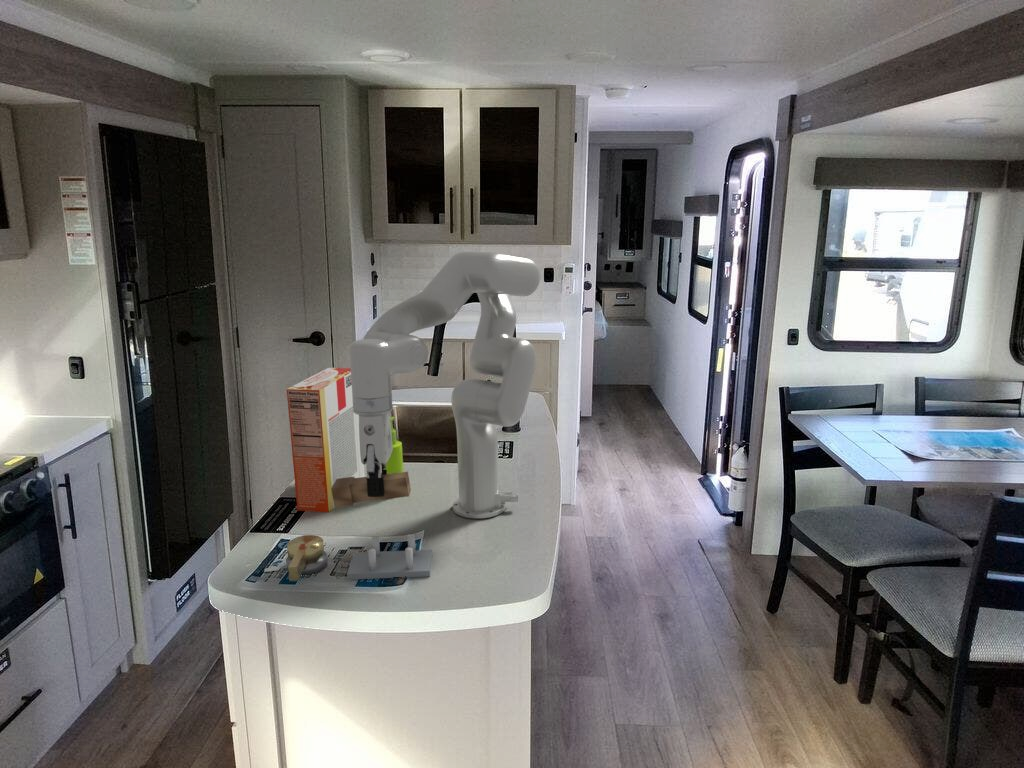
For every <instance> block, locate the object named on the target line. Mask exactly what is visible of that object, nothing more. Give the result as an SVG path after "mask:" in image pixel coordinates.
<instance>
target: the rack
mask: <svg viewBox="0 0 1024 768" xmlns="http://www.w3.org/2000/svg"><path fill="white" fill-rule="evenodd" d="M415 538H416V537H415V534H408V535H407V547H406V548H405V550H391V551H387V550H386V551H385V550H384V551H381V548H380V547H381V546H380V544H381V543H380V536H379V535H374V536H372V537H371V541H372V543H371V545H372V548H370V549H368V550H367V551H362V552H356V551H355V552H353V555H352V558H351V561H350V563H349V567H348V570H347V573H346V580H348V581H349V580H373V579H376V580H377V579H394V578H393V577H402V576H403V577H402V578H421V577H424V578H425V577H426V578H427V577H431V573H432V571H431V569H432V564H433V563H432V561H433V549H416V539H415ZM405 576H406V577H405Z"/></svg>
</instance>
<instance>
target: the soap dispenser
mask: <svg viewBox="0 0 1024 768" xmlns="http://www.w3.org/2000/svg"><path fill="white" fill-rule="evenodd" d="M395 418H396V417H395V416H390V423H391V433H392V444H393V450H392V453H391V456H390V458H389V460H388V462H387V463H386V469H387V474H393V473H401V472H404V458H403V457H404V456H403V443H402V441H399V440H398V439H397V430H396V429H395V428H394V427H393V421H394V420H395ZM383 470H385V469H383Z"/></svg>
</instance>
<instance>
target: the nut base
mask: <svg viewBox="0 0 1024 768" xmlns="http://www.w3.org/2000/svg"><path fill="white" fill-rule="evenodd" d="M290 563H291V560H290V559H289V558H288V556H287V557H286V559H285V567H286V572H287V571H288V567H289V565H290ZM328 564H329V563H328V555H327V552H326V550H324V554H323V555H322V556H321V557H319V558H318V559H315V560H312V561H308V562H307V563H306V565H305V567H304V569H303V571H302V574H301V575H302V576H301V577H306V576H305V575H310V576H313V575H312V574H314V575H317V574H319V573H322V572H323V571H324V570H326V568H327V567H328V566H329V565H328ZM278 568H279V566H276V567H275V566H274V567H266V568H264V570H263V573H264V572H270V571H271V572H270V573H273V572H272V571H278V572H279V569H278ZM288 572H289V571H288ZM288 572H287V573H288ZM316 573H317V574H316ZM303 575H304V576H303Z"/></svg>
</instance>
